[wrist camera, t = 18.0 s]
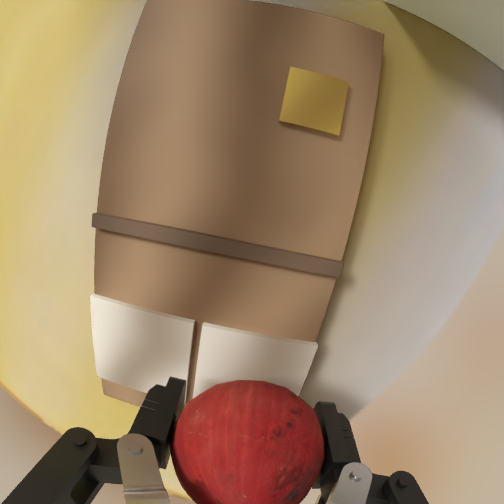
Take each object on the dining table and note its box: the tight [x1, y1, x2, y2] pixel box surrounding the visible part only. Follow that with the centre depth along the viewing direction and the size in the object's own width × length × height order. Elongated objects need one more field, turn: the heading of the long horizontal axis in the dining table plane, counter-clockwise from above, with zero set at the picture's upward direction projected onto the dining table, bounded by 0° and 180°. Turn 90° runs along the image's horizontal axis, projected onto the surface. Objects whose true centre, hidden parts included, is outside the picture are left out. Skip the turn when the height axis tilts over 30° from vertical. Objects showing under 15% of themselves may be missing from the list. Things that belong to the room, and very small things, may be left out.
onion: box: [170, 380, 325, 504], centre depth 9 cm, size 6×6×8 cm
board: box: [90, 0, 384, 410], centre depth 12 cm, size 11×22×1 cm, turn 169°
